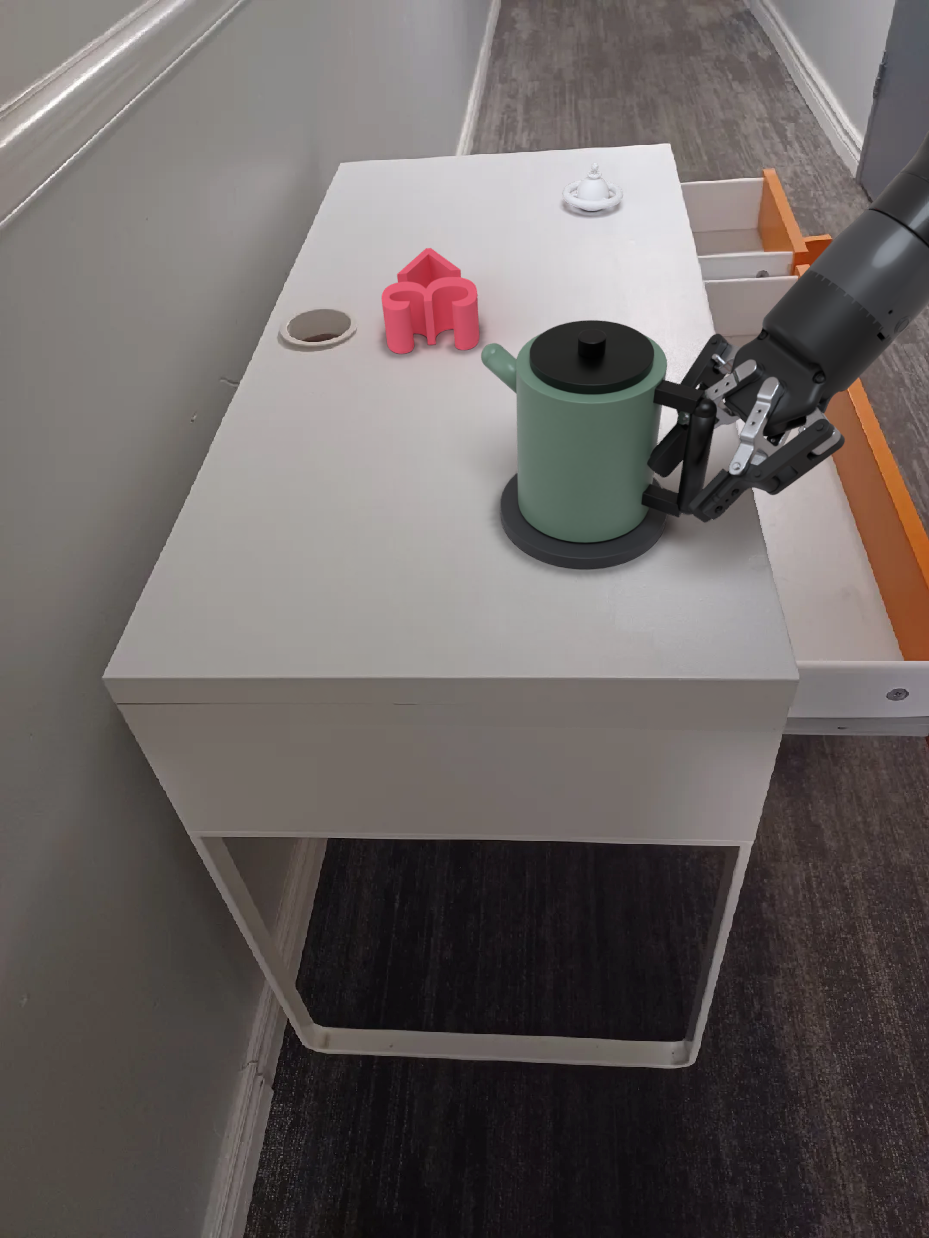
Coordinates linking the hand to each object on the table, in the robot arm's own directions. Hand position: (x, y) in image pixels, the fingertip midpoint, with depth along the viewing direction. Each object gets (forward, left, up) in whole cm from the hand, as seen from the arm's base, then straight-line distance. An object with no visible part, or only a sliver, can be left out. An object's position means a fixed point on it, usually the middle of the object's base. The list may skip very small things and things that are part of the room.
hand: (676, 492), depth 65 cm
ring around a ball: (+16, -67, -7) cm, 69 cm away
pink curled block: (+29, -35, -7) cm, 46 cm away
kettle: (+7, -5, -6) cm, 10 cm away
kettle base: (+7, -5, -7) cm, 12 cm away
